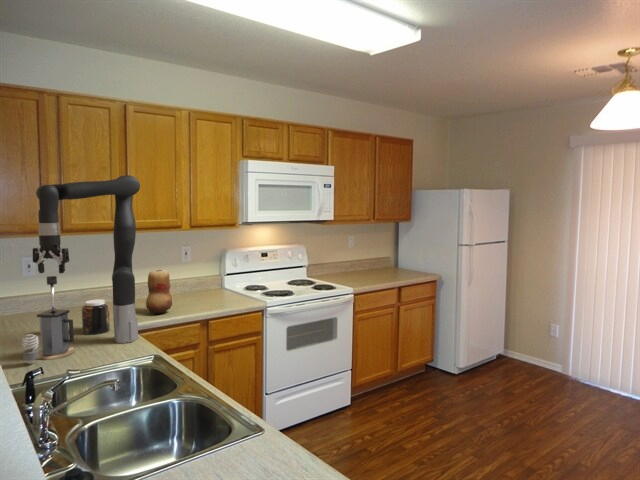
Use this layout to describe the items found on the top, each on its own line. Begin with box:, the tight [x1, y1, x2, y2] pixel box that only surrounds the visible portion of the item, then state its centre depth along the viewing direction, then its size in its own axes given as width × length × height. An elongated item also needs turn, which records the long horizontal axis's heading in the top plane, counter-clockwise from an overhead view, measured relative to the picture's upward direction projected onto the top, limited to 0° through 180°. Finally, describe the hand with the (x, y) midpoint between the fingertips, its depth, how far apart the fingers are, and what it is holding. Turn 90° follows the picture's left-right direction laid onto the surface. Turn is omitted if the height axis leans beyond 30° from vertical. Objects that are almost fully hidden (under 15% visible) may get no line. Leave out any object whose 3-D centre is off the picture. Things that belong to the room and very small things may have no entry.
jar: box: [81, 299, 111, 336], centre depth 222 cm, size 12×12×15 cm
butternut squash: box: [145, 268, 173, 315], centre depth 256 cm, size 14×13×25 cm
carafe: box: [36, 309, 75, 356], centre depth 190 cm, size 13×10×17 cm
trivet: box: [37, 346, 75, 361], centre depth 191 cm, size 14×14×1 cm
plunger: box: [46, 275, 58, 313], centre depth 189 cm, size 7×7×20 cm
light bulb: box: [21, 333, 40, 365], centre depth 179 cm, size 6×6×12 cm
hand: (51, 273), depth 188 cm, fingers open, 8 cm apart
